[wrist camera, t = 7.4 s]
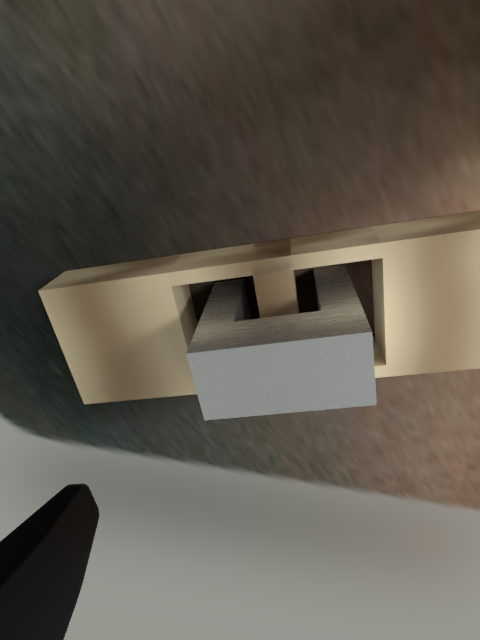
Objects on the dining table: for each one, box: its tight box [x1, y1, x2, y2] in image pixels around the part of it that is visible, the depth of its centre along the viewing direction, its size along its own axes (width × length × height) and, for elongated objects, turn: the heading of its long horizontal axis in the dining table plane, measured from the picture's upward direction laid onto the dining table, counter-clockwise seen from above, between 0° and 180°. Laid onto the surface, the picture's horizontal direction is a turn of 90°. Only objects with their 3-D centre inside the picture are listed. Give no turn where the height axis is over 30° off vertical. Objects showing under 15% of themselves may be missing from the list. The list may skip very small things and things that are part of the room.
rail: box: [38, 211, 480, 404], centre depth 19 cm, size 20×6×2 cm, turn 100°
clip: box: [186, 264, 377, 420], centre depth 17 cm, size 6×3×6 cm, turn 101°
